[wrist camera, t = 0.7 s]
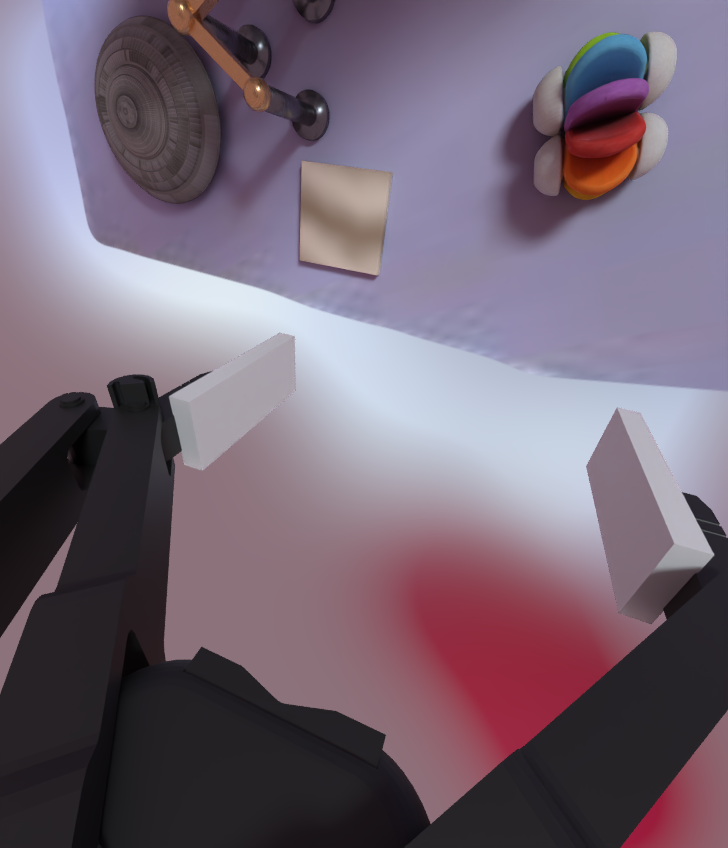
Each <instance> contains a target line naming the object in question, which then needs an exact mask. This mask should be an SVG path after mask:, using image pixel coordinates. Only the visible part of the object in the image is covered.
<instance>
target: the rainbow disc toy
mask: <svg viewBox="0 0 728 848" xmlns="http://www.w3.org/2000/svg"><path fill="white" fill-rule="evenodd" d="M676 60H677V49H676V45H675V43H674V41H673V40H672V39H671V37H669V36H668V35H666V34H664V33H662V32H649V33H646V34H645V35H644V36H643V37H642V38H641V40H640V41H639V40H638V39H637V38H635V37H633V36H630V35H626V34H619V33H613V32H611V33H605V34H602V35H600V36H597V37H595V38H593V39H592V40H590V41H589V42H588V43H587V44H586V45H585V46H584V47H582V49H581V50H580V51H579V52H578V53H577V55H576V56H575V57H574V59H573V60H572V62H571V64H570V66H569V68H568V70H567V71H566V72H565V76H564V80H563V75H562V68H561V67H560V66H558V67H556V68H554V69H553V70H551V71H550V72H549V73H548V74H547V75H546V76H545V77H544V78H543V79H542V80H541V82H540V83H539V85H538V86H537V88H536V90H535V92H534V95H533V124H534V126H535V128H536V129H537V130H538V131H539V132H540V133H542V134H544V135H547V136H552V138H551V139H549V140H548V141H547V142H546V143H545V144H544V145H543V146H542V147H541V148H540V149H539V151H538V152H537V154H536V156H535V159H534V185H535V187H536V188H537V189H538V190H539V191H540V192H541V193H543V194H545V195H548V196H557V195H558V194H559V190H560V185H561V181H562V182H563V186H564V188H566V190H567V191H568V192H569V193H570V194H571V195H572V196H573V197H575V198H578V199H581V200H590V199H594V198H597V197H599V196H601V195H603V194H605V193H606V192H608V191H610V190H612V189H613V188H615V187H616V186H618V185H619V184H620V183H621V182H622V181H623V180H625V178H626V177H627V176H628V178H629V179H630V180H635V179H637V178H639V177H641V176H643V175H645V174H646V173H648V172H649V171H650V170H651V169H653V168H654V167H655V166H656V164H657V163H658V162H659V161H660V160H661V158H662V156H663V154H664V152H665V149H666V145H667V141H668V127H667V124H666V123H665V121H664V120H663V119H662V118H661V117H660V116H658V115H656V114H653V113H641V114H639V113H638V112H637V110H643V109H644V108H645V107H647V106H648V105H650V104H651V103H653V102H654V101H655V100H656V99H657V98H658V97H659V96H660V95H661V94H662V93H663V92H664V90H665V89H666V88H667V86H668V85H669V83H670V81H671V79H672V77H673V74H674V71H675V66H676ZM563 126H564V130H565V132H566V134H565V140H564V139H563V138H562V137H561V135H560V132H561V128H562V127H563Z"/></svg>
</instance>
